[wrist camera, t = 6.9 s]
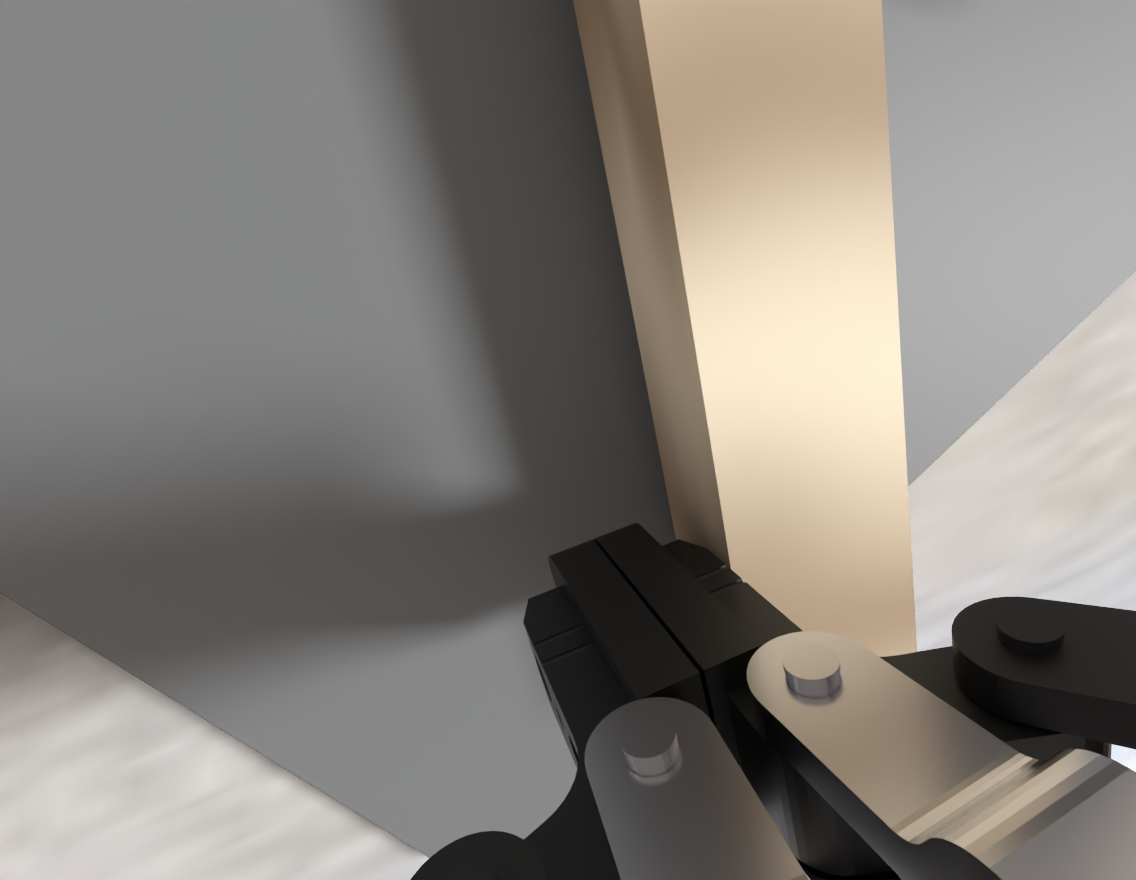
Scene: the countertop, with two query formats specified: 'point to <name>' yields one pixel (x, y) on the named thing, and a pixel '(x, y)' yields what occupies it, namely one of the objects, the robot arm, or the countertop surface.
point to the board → (435, 344)
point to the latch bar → (766, 290)
